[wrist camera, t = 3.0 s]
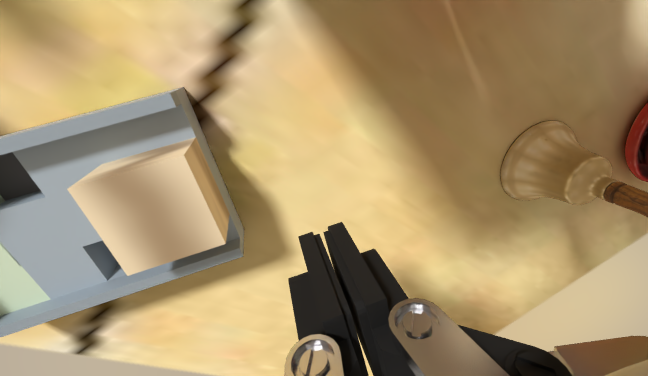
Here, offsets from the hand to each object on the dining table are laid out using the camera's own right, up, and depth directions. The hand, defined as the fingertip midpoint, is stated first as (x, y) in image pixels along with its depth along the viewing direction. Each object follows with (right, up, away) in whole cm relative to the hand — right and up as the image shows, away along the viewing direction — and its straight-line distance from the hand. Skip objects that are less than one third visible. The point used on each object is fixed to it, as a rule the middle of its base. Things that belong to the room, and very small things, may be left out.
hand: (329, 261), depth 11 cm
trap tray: (-17, +2, +11) cm, 21 cm away
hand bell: (+21, +5, +19) cm, 29 cm away
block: (-11, +3, +9) cm, 15 cm away
